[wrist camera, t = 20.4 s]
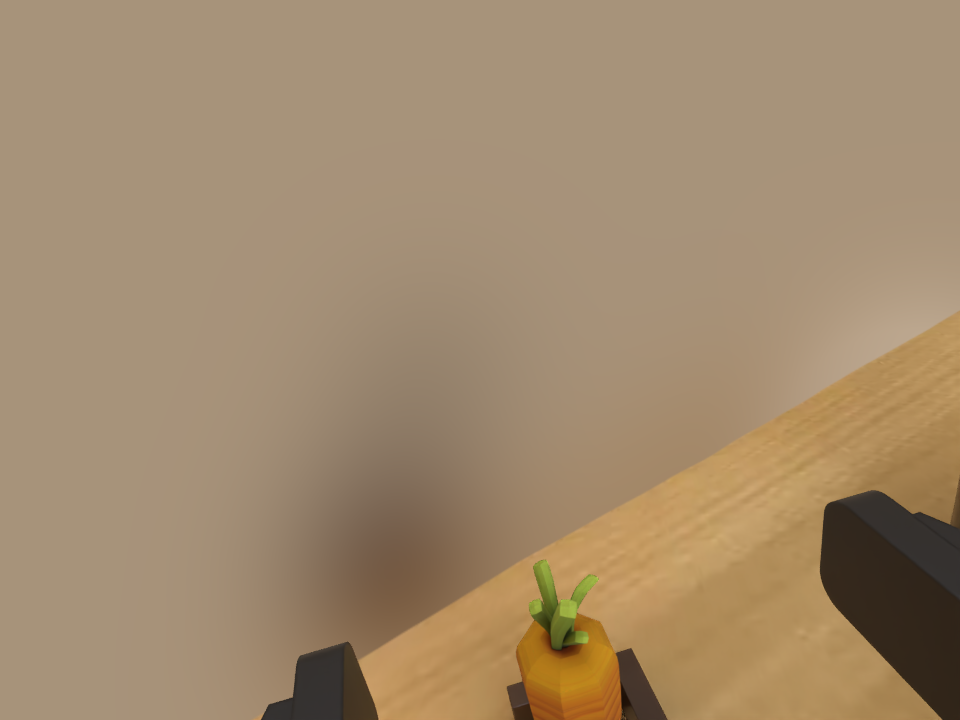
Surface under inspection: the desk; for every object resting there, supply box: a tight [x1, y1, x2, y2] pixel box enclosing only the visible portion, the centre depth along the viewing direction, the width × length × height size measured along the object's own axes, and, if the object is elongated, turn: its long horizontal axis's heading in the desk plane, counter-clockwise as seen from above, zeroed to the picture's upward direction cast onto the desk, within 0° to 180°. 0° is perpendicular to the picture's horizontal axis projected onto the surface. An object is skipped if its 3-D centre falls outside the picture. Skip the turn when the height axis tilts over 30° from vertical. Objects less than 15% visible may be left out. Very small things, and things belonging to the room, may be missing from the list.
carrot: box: [516, 560, 622, 720], centre depth 30 cm, size 5×5×15 cm
